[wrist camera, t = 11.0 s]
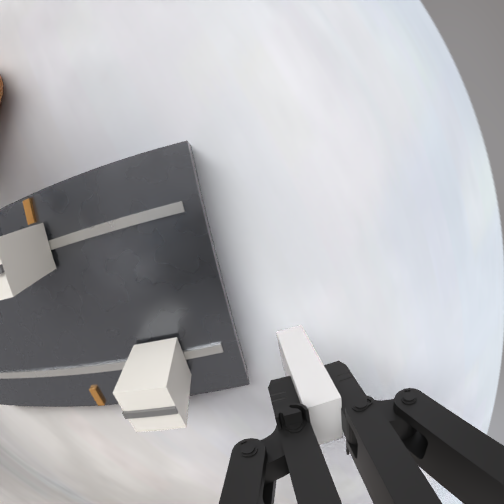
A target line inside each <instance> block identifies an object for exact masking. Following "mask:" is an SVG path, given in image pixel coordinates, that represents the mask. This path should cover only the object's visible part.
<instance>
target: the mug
mask: <svg viewBox="0 0 504 504" xmlns="http://www.w3.org/2000/svg"><path fill="white" fill-rule="evenodd" d="M2 95H3V82H2V78H1V75H0V103H1V99H2Z"/></svg>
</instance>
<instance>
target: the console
mask: <svg viewBox="0 0 504 504" xmlns="http://www.w3.org/2000/svg"><path fill="white" fill-rule="evenodd" d="M40 223H43V224H44V227H45V231H46V235H47V239H48V242H49V246H50V249H51V252H52V256H53V259H54V262H55V265H56V268H57V269H55V270H53V271H52V272H50V273H49V274H47V275H46V276H44V277H42V278H41V279H39V280H38V281H36V282H35V283H33V284H32V285H30V286H29V287H27V288H26V289H24V290H23V291H21V292H20V293H18V294H17V295H15V296H14V297H11V298H7V299H4V300H0V404H3V405H18V406H95V405H98V406H102V405H111V404H119V403H118V401H117V400H116V398H115V396H114V394H113V391H114V389H115V386H116V384H117V382H118V379H119V377H120V375H121V372H122V370H123V368H124V366H125V363H126V361H127V359H128V357H129V354H130V352H131V350H132V348H133V346H134V345H136V344H142V343H148V342H154V341H159V340H164V339H170V338H175V337H177V338H178V341H179V344H180V346H181V349H182V352H183V354H184V357H185V359H186V362H187V365H188V367H189V370H190V372H191V385H190V395H196V394H202V393H208V392H213V391H219V390H224V389H229V388H234V387H239V386H243V385H248V384H249V379H248V373H247V367H246V364H245V360H244V357H243V353H242V350H241V346H240V343H239V339H238V335H237V332H236V328H235V324H234V321H233V317H232V313H231V310H230V306H229V302H228V298H227V295H226V291H225V287H224V283H223V279H222V275H221V272H220V268H219V264H218V260H217V256H216V252H215V248H214V244H213V240H212V236H211V231H210V227H209V223H208V219H207V215H206V211H205V206H204V202H203V198H202V194H201V189H200V185H199V181H198V176H197V172H196V167H195V163H194V158H193V154H192V149H191V145H190V144H189V142H188V141H184V142H180V143H177V144H173V145H169V146H165V147H162V148H158V149H155V150H151V151H148V152H145V153H141V154H138V155H135V156H132V157H128V158H125V159H122V160H119V161H116V162H113V163H110V164H107V165H104V166H101V167H99V168H96V169H93V170H90V171H88V172H85V173H82V174H80V175H77V176H74V177H72V178H69V179H67V180H64V181H62V182H59V183H57V184H54V185H52V186H50V187H47V188H45V189H42V190H40V191H38V192H36V193H33V194H31V195H29V196H27V197H25V198H22V199H20V200H18V201H16V202H14V203H12V204H10V205H8V206H6V207H4V208H2V209H0V236H3V235H6V234H9V233H12V232H15V231H18V230H21V229H24V228H27V227H30V226H33V225H37V224H40ZM190 395H189V396H190Z"/></svg>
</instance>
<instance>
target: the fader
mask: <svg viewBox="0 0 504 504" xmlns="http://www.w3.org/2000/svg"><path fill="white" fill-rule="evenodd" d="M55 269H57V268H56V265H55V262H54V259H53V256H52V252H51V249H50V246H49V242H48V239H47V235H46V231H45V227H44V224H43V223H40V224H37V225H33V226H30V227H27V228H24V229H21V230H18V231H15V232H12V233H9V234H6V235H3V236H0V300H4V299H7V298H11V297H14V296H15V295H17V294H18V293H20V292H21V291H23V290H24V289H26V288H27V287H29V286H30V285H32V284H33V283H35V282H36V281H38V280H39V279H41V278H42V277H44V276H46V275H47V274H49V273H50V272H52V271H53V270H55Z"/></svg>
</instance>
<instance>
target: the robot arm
mask: <svg viewBox="0 0 504 504" xmlns="http://www.w3.org/2000/svg"><path fill="white" fill-rule="evenodd" d="M276 334H277V339H278V344H279V349H280V353H281V358H282V363H283V368H284V371H285V374H286V377H283V378H279V379H275V380H271V381H270V384H269V387H268V389H269V393H270V397H271V401H272V405H273V409H274V414H275V419H276V423H277V426H276V429H275V431H274V432H273V433H272V434H271V435H270V436H268V437H267V438H265V439H263V440H258V439H253V438H250V439H244V440H242V441H240V442H238V443H237V444H236V445H235V446H234V448H233V450H232V453H231V457H230V461H229V466H228V470H227V474H226V478H225V482H224V486H223V489H222V493H221V497H220V501H219V504H274V496H275V488H276V480H277V479H279V478H281V477H283V476H285V475H287V474H289V473H290V477H291V480H292V484H293V488H294V492H295V495H296V499H297V503H298V504H342V503H341V500H340V498H339V495H338V493H337V490H336V487H335V485H334V482H333V480H332V477H331V474H330V472H329V469H328V467H327V464H326V461H325V459H324V456H323V454H322V451H321V449H320V446H319V445H321V444H324V443H328V442H331V441H334V440H337V439H340V438H343V432H344V435H345V437H346V452H347V455H348V454H349V452H350V454H351V456H352V458H353V460H354V462H355V464H356V467H357V469H358V471H359V473H360V475H361V477H362V479H363V482H364V484H365V486H366V488H367V490H368V492H369V495H370V497H371V499H372V501H373V503H374V504H442V503H441V501H440V499H439V498H438V496H437V495H436V493H435V492H434V490H433V488H432V487H431V485H430V484H429V482H428V481H427V479H426V477H425V476H424V474H423V473H422V471H421V470H420V468H419V467H421V468H422V469H423V470H424V471H425V472H427V473H428V474H429V475H430V476H431V477H432V478H434V479H435V480H436V481H437V482H438V483H440V484H441V485H442V486H443V487H444V488H446V489H447V490H448V491H449V492H451V493H452V494H453V495H454V496H455V497H457V498H458V499H459V500H460V501H462V502H463V503H464V504H504V446H503V445H501V444H500V443H498V442H497V441H495V440H494V439H492V438H491V437H489V436H487V435H486V434H484V433H483V432H481V431H480V430H478V429H477V428H475V427H474V426H472V425H471V424H469V423H467V422H466V421H464V420H463V419H461V418H460V417H458V416H457V415H455V414H454V413H452V412H451V411H449V410H448V409H446V408H445V407H443V406H442V405H440V404H439V403H437V402H436V401H434V400H433V399H431V398H430V397H428V396H427V395H425V394H424V393H422V392H421V391H419V390H417V389H413V388H408V389H403V390H401V391H399V392H398V393H397V394H396V395H395V398H394V399H391V400H384V401H378V400H374V399H373V398H372V397H369V396H366V395H365V393H364V392H363V390H362V389H361V387H360V385H359V384H358V382H357V381H356V379H355V378H354V377H353V375H352V373H351V372H350V370H349V369H348V367H347V366H346V365H345V364H343V363H342V362H340V361H337V362H333V363H330V364H327V365H323V363H322V361H321V359H320V358H319V356H318V354H317V352H316V350H315V349H314V347H313V345H312V343H311V341H310V339H309V338H308V336H307V334H306V332H305V330H304V329H303V327H302V325H299V326H295V327H291V328H288V329H284V330H280V331H276ZM418 466H419V467H418Z"/></svg>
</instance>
